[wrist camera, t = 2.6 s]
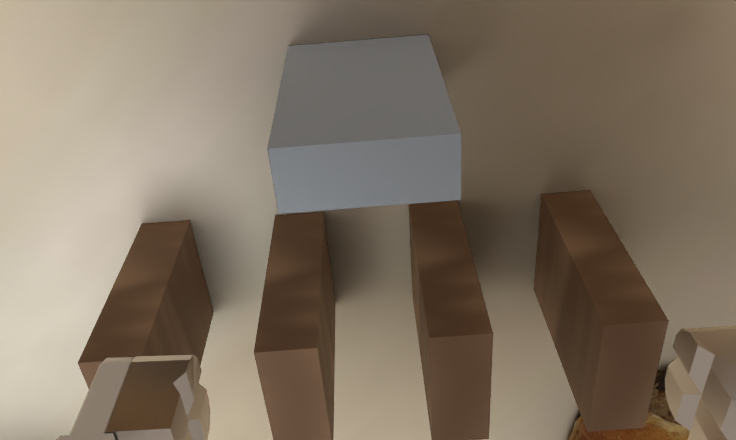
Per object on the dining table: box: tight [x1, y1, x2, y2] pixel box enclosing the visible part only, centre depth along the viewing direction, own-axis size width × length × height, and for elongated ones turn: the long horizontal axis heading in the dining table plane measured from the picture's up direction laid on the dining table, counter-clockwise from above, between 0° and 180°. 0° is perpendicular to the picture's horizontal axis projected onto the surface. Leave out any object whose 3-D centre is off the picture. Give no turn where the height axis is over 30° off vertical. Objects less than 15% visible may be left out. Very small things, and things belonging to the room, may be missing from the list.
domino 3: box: [268, 35, 461, 214], centre depth 21 cm, size 2×5×8 cm, turn 94°
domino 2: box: [254, 212, 335, 440], centre depth 26 cm, size 2×5×8 cm, turn 4°
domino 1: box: [78, 220, 213, 389], centre depth 26 cm, size 2×5×8 cm, turn 4°
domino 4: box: [409, 200, 493, 440], centre depth 26 cm, size 2×5×8 cm, turn 4°
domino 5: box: [534, 190, 668, 432], centre depth 26 cm, size 2×5×8 cm, turn 4°
